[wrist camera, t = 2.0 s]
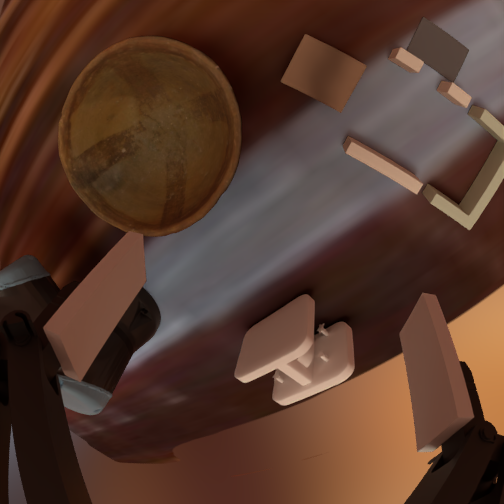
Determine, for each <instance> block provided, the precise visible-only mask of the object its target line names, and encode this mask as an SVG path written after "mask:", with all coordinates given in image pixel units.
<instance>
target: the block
mask: <svg viewBox="0 0 504 504" xmlns="http://www.w3.org/2000/svg"><path fill="white" fill-rule="evenodd" d="M366 67H367V66H366V65H364V64H363V63H361V62H359V61H357V60H356V59H354V58H352V57H350V56H348V55H347V54H345V53H343V52H341V51H339V50H337V49H335V48H333V47H331V46H329V45H327V44H325V43H323V42H321V41H319V40H317V39H315V38H313V37H311V36H309V35H307V34H305V35H304V37H303V39H302V41H301V43H300V45H299V47H298V49H297V51H296V52H295V54H294V56H293V58H292V60H291V62H290V64H289V66H288V68H287V70H286V72H285V74H284V76H283V78H282V80H281V82H282V83H284V84H286V85H288V86H290V87H292V88H294V89H296V90H298V91H301V92H303V93H305V94H307V95H309V96H310V97H312V98H314V99H316V100H318V101H320V102H322V103H324V104H326V105H328V106H330V107H331V108H333V109H335V110H337V111H339V112H340V113H341V112H342V110H343V108H344V106H345V105H346V103H347V101H348V99H349V97H350V96H351V94H352V92H353V90H354V88H355V87H356V85H357V83H358V81H359V79H360V78H361V76H362V74H363V72H364V70H365V69H366Z"/></svg>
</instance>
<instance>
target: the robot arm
mask: <svg viewBox="0 0 504 504" xmlns="http://www.w3.org/2000/svg"><path fill="white" fill-rule="evenodd" d="M145 282H146V271H145V258H144V243H143V234H139V233H135V232H130V231H129V232H128V233H127V234H126V235H125V236H124V237H123V238H122V239H121V240H120V241H119V242H118V243H117V244H116V245H115V246H114V247H113V248H112V249H111V250H110V251H109V252H108V253H107V255H106V256H105V257H104V258H103V259H102V260H101V261H100V262H99V263H98V264H97V265H96V266H95V268H94V269H93V270H92V271H91V272H90V273H89V274H88V275H87V276H86V278H85V279H84V280H83V281H82V282H81V283H79V282H76V281H73V282H71V283H70V284H68V285H66V286H65V287H63V288H62V289H61V290H60V289H59V288H58V286H57V285H56V283H55V282H54V281H53V279H52V278H51V276H50V273H48V272H47V271H46V270H45V269H44V268H43V266H42V265H41V264H40V262H39V261H38V260H37V259H36V258H35V257H34V256H32V255H25V256H23V257H21V258H19V259H18V260H16V261H15V262H13V263H12V264H10V265H9V266H7V267H6V268H4V269H3V270H1V271H0V504H9V498H8V468H9V447H10V434H11V424H12V431H13V438H14V444H15V450H16V456H17V462H18V467H19V472H20V477H21V481H22V485H23V490H24V493H25V497H26V501H27V504H92V502H91V499H90V497H89V494H88V491H87V488H86V485H85V482H84V479H83V476H82V473H81V470H80V467H79V464H78V460H77V457H76V453H75V450H74V446H73V442H72V439H71V435H70V431H69V427H68V422H67V418H66V413H65V409H64V406H65V407H67V408H69V409H71V410H73V411H76V412H79V413H82V414H87V415H95V414H98V413H100V412H101V411H102V410H103V408H104V407H105V405H106V404H107V402H108V401H109V399H110V398H111V397H112V393H113V391H114V389H115V387H116V385H117V383H118V381H119V379H120V378H121V376H122V374H123V372H124V370H125V368H126V366H127V364H128V362H129V360H130V359H131V357H132V355H133V353H134V352H135V351H137V350H138V349H139V348H140V347H141V346H143V345H144V344H145V343H146V342H148V341H149V340H150V339H151V338H152V337H153V336H154V335H155V333H156V331H157V329H158V327H159V325H160V312H159V309H158V307H157V305H156V303H155V302H154V300H153V299H152V297H151V296H150V295H149V294H148V293H147V292H146V291H145V290H144V289H143V288H142V287H143V285H144V284H145ZM400 339H401V344H402V349H403V354H404V360H405V365H406V371H407V376H408V382H409V389H410V395H411V402H412V409H413V417H414V424H415V434H416V443H417V452H431V451H432V452H433V451H434V450H435V449H437V448H438V447H439V446H442V452H441V453H440V454H438V455H437V456H436V457H434V458H433V459H431V460H430V461H429V462H428V464H431V463H432V462H433V464H432V465H431V467H430V468H429V470H428V472H427V473H426V474H425V476H424V477H423V479H422V480H421V482H420V483H419V484H418V486H417V487H416V488H415V490H414V491H413V492H412V494H411V495H410V496H409V498H408V499H407V500H406V502H405V503H404V504H504V436H502V435H499V434H497V431H496V429H495V427H494V426H493V425H492V424H491V423H490V422H488V421H485V420H484V415H483V411H482V408H481V404H480V400H479V396H478V393H477V391H476V390H477V389H476V386H475V383H474V379H473V376H472V372H471V370H470V369H469V367H468V366H467V364H466V363H465V362H462V361H459V359H458V356H457V353H456V350H455V347H454V344H453V341H452V338H451V335H450V332H449V330H448V327H447V324H446V321H445V318H444V316H443V313H442V310H441V308H440V305H439V303H438V300H437V297H436V295H431V294H427V293H422V295H421V296H420V298H419V300H418V302H417V304H416V306H415V308H414V309H413V311H412V313H411V315H410V317H409V318H408V320H407V322H406V324H405V325H404V327H403V329H402V330H401V332H400ZM497 477H498V478H497ZM496 478H497V483H496Z"/></svg>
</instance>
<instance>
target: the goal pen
mask: <svg viewBox="0 0 504 504" xmlns="http://www.w3.org/2000/svg"><path fill="white" fill-rule="evenodd" d="M468 115H469V116H470V117H471V118H473V119H474V120H475V121H476V122H477V123H479V124H480V125H481V126H482V127H483V128H484V129H485V130H487V131H488V132H489V133H490V134H491V135H492V136H493V137H494V138H496V139H497V140H498V141H497V142H496V144H495V146H494V148H493V150H492V152H491V153H490V155H489V157H488V159H487V160H486V162H485V164H484V166H483V167H482V169H481V171H480V172H479V174H478V176H477V177H476V179H475V181H474V182H473V184H472V185H471V187H470V189H469V190H468V192H467V193H466V195H465V197H464V198H463V200H462V201H461V203H460V204H459V205H458V204H457V203H455V202H454V201H453V200H451V199H450V198H448V197H447V196H446V195H444V194H443V193H441V192H440V191H438V190H437V189H435V188H434V187H432V186H431V185H430V184H427V186H426V187H425V189H424V190H423V192H422V193H423V195H424V196H425V197H426V198H427V200H428V201H429V202H430V203H431V204H432V205H434V206H435V207H437V208H438V209H440V210H441V211H443V212H444V213H446V214H447V215H449V216H450V217H451V218H453V219H454V220H456V221H457V222H459V223H460V224H461V225H463V226H464V227H466V228H467V229H468V230H470V229H471V228H472V227H473V225H474V224H475V222H476V221H477V219H478V218H479V216H480V215H481V213H482V212H483V210H484V209H485V207H486V206H487V204H488V203H489V201H490V199H491V198H492V196H493V195H494V193H495V192H496V190H497V188H498V187H499V185H500V183H501V182H502V180H503V178H504V126H503V125H502V124H501V123H500V122H499V121H498V120H497V119H496V118H494V117H493V116H492V115H491V114H490V113H489V112H488V111H487V110H486V109H483V108H480V107H477V106H474V105H472V107H471V109H470V111H469V112H468Z"/></svg>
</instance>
